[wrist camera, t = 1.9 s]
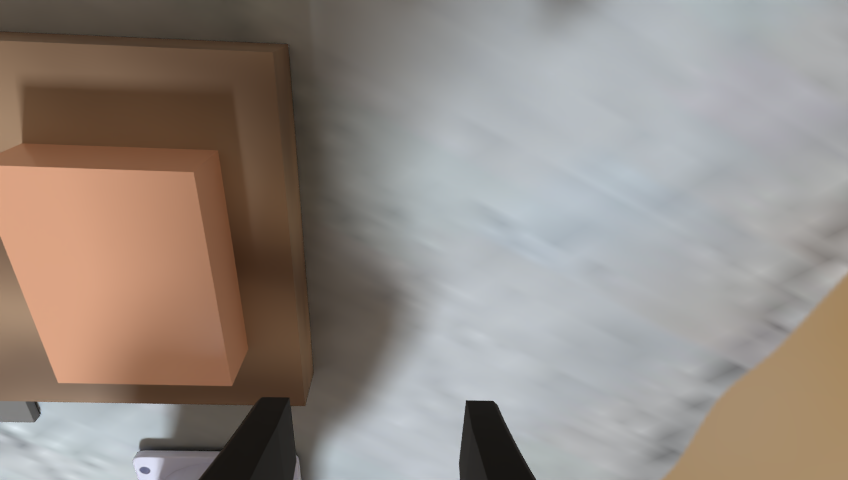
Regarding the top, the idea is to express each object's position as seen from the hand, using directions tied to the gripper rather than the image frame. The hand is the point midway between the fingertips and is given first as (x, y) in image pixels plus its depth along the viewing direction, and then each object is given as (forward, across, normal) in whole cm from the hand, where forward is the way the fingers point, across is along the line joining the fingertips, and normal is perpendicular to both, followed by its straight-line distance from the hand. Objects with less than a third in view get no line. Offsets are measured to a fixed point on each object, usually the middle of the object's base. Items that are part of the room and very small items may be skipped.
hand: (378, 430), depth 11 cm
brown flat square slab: (+9, +10, 0) cm, 14 cm away
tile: (+6, +8, 0) cm, 11 cm away
